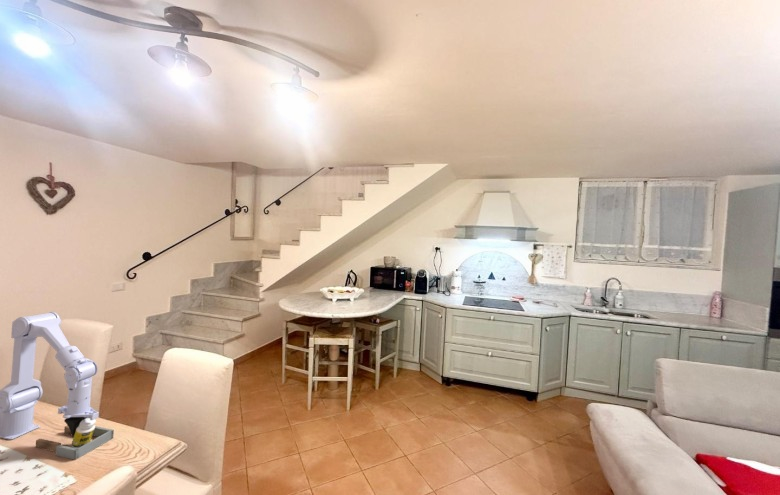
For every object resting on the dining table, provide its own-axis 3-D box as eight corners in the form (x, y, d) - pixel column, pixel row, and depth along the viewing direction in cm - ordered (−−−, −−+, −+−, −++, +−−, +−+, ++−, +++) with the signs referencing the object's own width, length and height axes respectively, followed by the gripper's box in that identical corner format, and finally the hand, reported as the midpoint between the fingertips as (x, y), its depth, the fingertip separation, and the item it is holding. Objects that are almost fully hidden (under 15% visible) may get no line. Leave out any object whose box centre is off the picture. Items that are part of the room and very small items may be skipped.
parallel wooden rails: (35, 447, 103) (36, 440, 103) (67, 431, 112) (67, 425, 112) (57, 451, 102) (57, 444, 102) (87, 435, 111) (88, 429, 111)
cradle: (55, 455, 100) (56, 446, 100) (94, 434, 112) (95, 426, 112) (75, 459, 99) (76, 450, 99) (113, 437, 111) (113, 429, 111)
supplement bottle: (76, 451, 103) (84, 428, 102) (67, 444, 104) (74, 422, 104) (93, 442, 108) (100, 421, 107) (84, 436, 109) (91, 415, 108)
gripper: (48, 400, 103) (45, 439, 103) (83, 406, 101) (80, 447, 101) (72, 390, 110) (70, 427, 110) (106, 396, 108) (103, 434, 108)
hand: (76, 436), depth 106 cm, fingers closed, pressing on supplement bottle
